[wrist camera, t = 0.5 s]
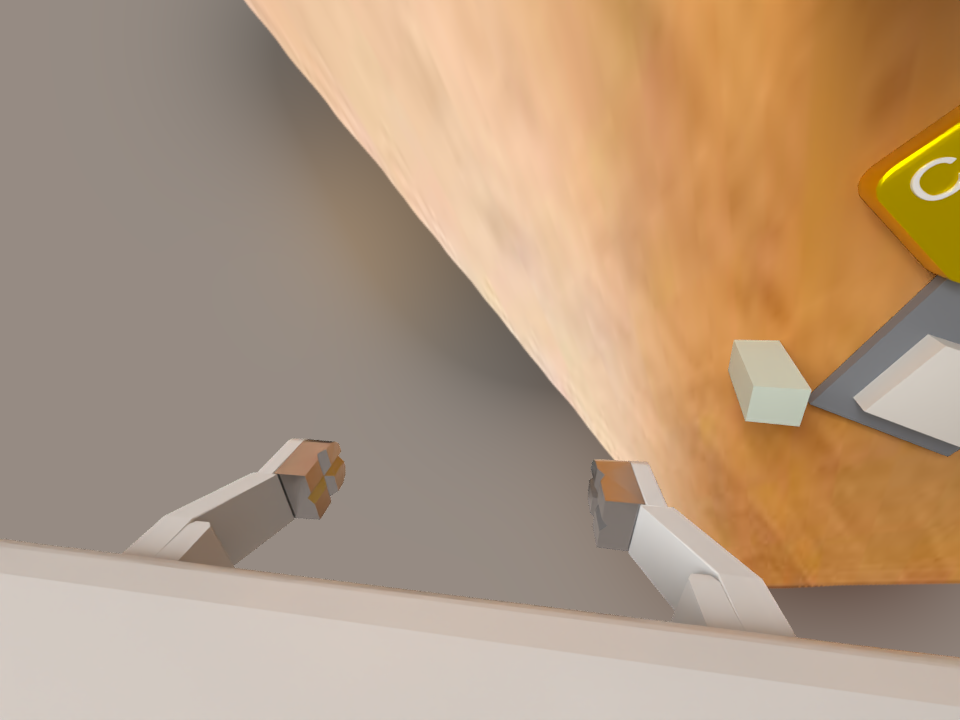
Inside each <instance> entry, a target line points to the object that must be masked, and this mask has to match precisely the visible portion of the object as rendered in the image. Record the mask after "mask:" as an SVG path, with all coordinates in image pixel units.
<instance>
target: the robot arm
mask: <svg viewBox="0 0 960 720" xmlns="http://www.w3.org/2000/svg"><path fill="white" fill-rule="evenodd" d="M340 452H341V449H340V446H339V444H338V443H337V442H332V441H322V440H312V439H298V438H293V439H290V440H289V441H288V442H287V443H286V444H285V445H284V446H283V447H282V448H281V449H280V450H279V451H278V452H277V453H276V454H275V455H274V456H273V457H272V458H271V459H270V460H269V461H268V462H267V463H266V464H265V465H264V466H263V467H262V468H261V469H260V470H259V471H258V472H257V473H251V474H249V475H246V476H244V477H242V478H241V479H238V480H236V481H234V482H232V483H230V484H228V485H226V486H224V487H222V488H220V489H218V490H216V491H214V492H212V493H210V494H208V495H206V496H204V497H202V498H200V499H198V500H196V501H194V502H192V503H190V504H188V505H186V506H183V507H181V508H179V509H178V510H175V511H173V512H172V513H169V514H167V515H166V516H164V517H163V518H161V519H160V520H159V521H158V522H157V523H156V524H155V525H154V526H152V527H151V528H150V529H149V530H148V531H147V532H146V533H145V534H143V536H141V537H140V538H139V539H138V540H137V541H136V542H134V543H133V544H132V545H131V546H130V547H129V548H128V549H127V550H125V551H124V552H123V553H122V554H119V553H110V552H102V551H93V550H86V549H78V548H70V547H62V546H54V545H46V544H38V543H29V542H22V541H15V540H9V539H0V720H960V658H959V657H950V656H942V655H934V654H925V653H918V652H909V651H901V650H893V649H884V648H876V647H869V646H861V645H852V644H843V643H836V642H828V641H820V640H811V639H804V638H797V637H796V636H795V633H794V632H793V630H792V628H791V627H790V625H789V623H788V622H787V620H786V618H785V617H784V615H783V613H782V612H781V610H780V609H779V607H778V605H777V603H776V602H775V600H774V598H773V596H772V595H771V593H770V591H769V590H768V588H767V586H766V585H765V583H764V581H763V580H762V579H761V578H760V577H759V576H757V575H756V574H755V573H754V572H753V571H751V570H750V569H749V568H748V567H746V566H745V565H744V564H743V563H741V562H740V561H739V560H738V559H737V558H735V557H734V556H733V555H732V554H730V553H729V552H728V551H727V550H725V549H724V548H723V547H722V546H720V545H719V544H718V543H717V542H716V541H714V540H713V539H712V538H711V537H709V536H708V535H707V534H706V533H704V532H703V531H702V530H701V529H700V528H698V527H697V526H696V525H695V524H693V523H692V522H691V521H690V520H688V519H687V518H686V517H685V516H684V515H682V514H681V513H680V512H679V511H677V510H676V509H675V508H674V507H668V506H667V504H666V501H665V499H664V497H663V495H662V492H661V490H660V488H659V486H658V483H657V481H656V479H655V477H654V474H653V472H652V470H651V468H650V465H649V464H648V463H647V462H639V461H617V460H599V459H593V462H592V466H591V471H592V476H593V478H591V479H590V480H589V487H588V502H589V509H590V513H591V514H592V515H593V516H594V521H593V531H594V536H595V541H596V546H597V547H599V548H607V549H614V550H623V551H629V552H628V553H629V554H630V556H631V557H632V558H633V559H634V561H635V562H636V563H637V564H638V565H639V567H640V568H641V569H642V571H643V572H644V573H645V574H646V576H647V577H648V578H649V579H650V581H651V582H652V583H653V584H654V586H655V587H656V588H657V589H658V591H659V592H660V593H661V595H662V596H663V597H664V598H665V600H666V601H667V602H668V603H669V604H670V606H671V607H672V608H673V610H674V611H675V613H674V615H673V618H672V620H671V622H667V621H658V620H650V619H643V618H635V617H627V616H619V615H611V614H603V613H595V612H587V611H578V610H570V609H562V608H554V607H546V606H538V605H530V604H521V603H513V602H505V601H497V600H489V599H480V598H473V597H464V596H456V595H448V594H440V593H432V592H423V591H416V590H407V589H400V588H392V587H384V586H376V585H368V584H360V583H352V582H344V581H336V580H327V579H320V578H312V577H304V576H295V575H287V574H280V573H271V572H264V571H255V570H247V569H239V568H235V567H234V565H235V564H237V563H238V562H239V561H240V560H242V559H243V558H244V557H246V556H247V555H248V554H250V553H251V552H252V551H253V550H255V549H256V548H257V547H259V546H260V545H261V544H263V543H264V542H265V541H266V540H268V539H269V538H271V537H272V536H273V535H274V534H276V533H277V532H278V531H280V530H281V529H282V528H283V527H285V526H286V525H287V524H289V523H290V522H291V521H293V520H294V518H306V519H321V517H322V516H323V514H324V513H325V511H326V509H327V508H328V506H329V505H330V503H331V497H330V496H331V495H333V494H334V493H336V492H337V491H339V489H340V487H341V486H342V484H343V481H344V478H345V464H344V461H343V460H342V459H341V458H340V457H339V456H338V455H339V454H340Z"/></svg>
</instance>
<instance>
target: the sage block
mask: <svg viewBox="0 0 960 720" xmlns="http://www.w3.org/2000/svg"><path fill="white" fill-rule="evenodd" d="M728 371H729V374H730V377H731V380H732V383H733V386H734V389H735V392H736V395H737V398H738V401H739V404H740V407H741V410H742V412H743V415H744V418H745V421H750V422H760V423H770V424H780V425H790V426H800V424H801V421H802V418H803V415H804V412H805V409H806V405H807V402H808V399H809V396H810V393H811V388H810V387H809V385H808V384H807V382H806V381H805V379H804V378H803V376H802V375H801V373H800V372H799V370H798V368H797V367H796V365H795V364H794V362H793V361H792V359H791V358H790V356H789V355H788V353H787V352H786V350H785V349H784V347H783V346H782V344H781V343H780V341H773V340H734V342H733V347H732V352H731V358H730V363H729V368H728Z"/></svg>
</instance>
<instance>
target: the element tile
mask: <svg viewBox="0 0 960 720" xmlns="http://www.w3.org/2000/svg"><path fill="white" fill-rule="evenodd" d="M858 193H859V195H860V197H861V198H862V199H863V200H864V202H865V203H866V204H867V205H868V206H869V207H870V208H871V209H872V210H873V211H874V213H875V214H876V215H877V216H878V217H879V218H880V219H881V220H882V221H883V223H884V224H885V225H886V226H887V227H888V228H889V229H890V230H891V231H892V232H893V234H894V235H895V236H896V237H897V238H898V239H899V240H900V241H901V242H902V243H903V245H904V246H905V247H906V248H907V249H908V250H909V251H910V252H911V253H912V254H913V256H914V257H915V258H916V259H917V260H918V261H919V262H920V263H921V264H922V266H923V267H924V268H926V269H927V270H928V271H930V272H933V273H935V274H937V275H939V276H942V277H944V278H946V279H948V280H951V281H954V282H957V283H960V105H959V106H958V107H956V108H955V109H953V110H952V111H950V112H949V113H948V114H946V115H945V116H943V117H942V118H940V119H939V120H938V121H936V122H935V123H933V124H932V125H930V126H929V127H927V128H926V129H925V130H923V131H922V132H920V133H919V134H917V135H916V136H915V137H913V138H912V139H910V140H909V141H907V142H906V143H905V144H903V145H902V146H900V147H899V148H897V149H896V150H894V151H893V152H892V153H890V154H889V155H887V156H886V157H884V158H883V159H882V160H880V161H879V162H877V163H876V164H874V165H873V166H872V167H871V168H870V169H868V170H867V171H866V173H865V174H864V175H863V176H862V177H861V179H860V181H859V184H858Z"/></svg>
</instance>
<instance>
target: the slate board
mask: <svg viewBox="0 0 960 720" xmlns="http://www.w3.org/2000/svg"><path fill="white" fill-rule="evenodd" d="M808 402H809V403H810V404H811V405H814V406H816V407H819V408H821V409H824V410H827V411H829V412H832V413H835V414H837V415H840V416H842V417H845V418H848V419H850V420H853V421H856V422H858V423H861V424H863V425H866V426H869V427H871V428H874V429H877V430H879V431H882V432H884V433H887V434H890V435H892V436H895V437H898V438H900V439H903V440H905V441H908V442H911V443H913V444H916V445H919V446H921V447H924V448H926V449H929V450H932V451H934V452H937V453H939V454H942V455H945V456H947V457H948V456H950V455H951V454H953V453H954V452H956V451H958V450H959V449H960V283H957V282H954V281H951V280H948V279H946V278H944V277H942V276H939V275H937V276H936V277H935V278H934V279H933V280H932V281H931V282H930V283H929V284H928V285H926V286H925V287H924V288H923V289H922V290H921V291H920V292H919V293H918V294H917V295H916V296H915V297H914V298H913V299H911V300H910V301H909V302H908V303H907V304H906V305H905V306H904V307H903V308H902V309H901V310H900V311H899V312H898V313H896V314H895V315H894V316H893V317H892V318H891V319H890V320H889V321H888V322H887V323H886V324H885V325H884V326H883V327H881V328H880V329H879V330H878V331H877V332H876V333H875V334H874V335H873V336H872V337H871V338H870V339H869V340H868V341H866V342H865V343H864V344H863V345H862V346H861V347H860V348H859V349H858V350H857V351H856V352H855V353H854V354H853V355H852V356H850V357H849V358H848V359H847V360H846V361H845V362H844V363H843V364H842V365H841V366H840V367H839V368H838V369H837V370H835V371H834V372H833V373H832V374H831V375H830V376H829V377H828V378H827V379H826V380H825V381H824V382H823V383H822V384H820V385H819V386H818V387H817V388H816V389H815V390H814V391H813V392H812V393H811V394H810V396H809V399H808Z"/></svg>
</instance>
